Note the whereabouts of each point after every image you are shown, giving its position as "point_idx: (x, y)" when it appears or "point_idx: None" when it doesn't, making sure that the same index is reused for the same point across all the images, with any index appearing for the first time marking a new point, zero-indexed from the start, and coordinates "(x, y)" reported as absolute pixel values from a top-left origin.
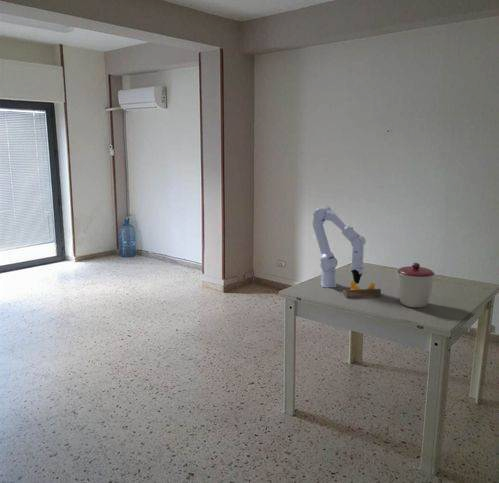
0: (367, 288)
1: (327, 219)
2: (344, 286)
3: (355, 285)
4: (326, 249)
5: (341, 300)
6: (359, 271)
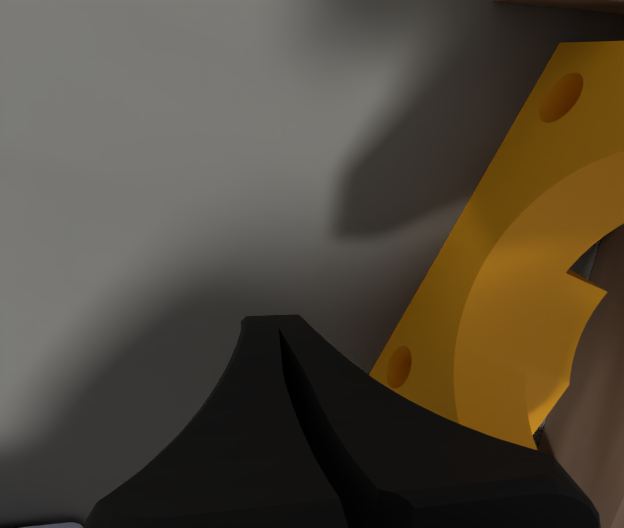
0: (557, 185)
1: None
2: (16, 416)
3: (507, 431)
4: None
5: None
6: None
